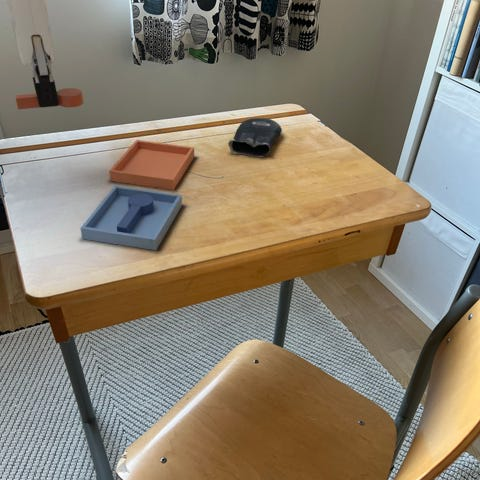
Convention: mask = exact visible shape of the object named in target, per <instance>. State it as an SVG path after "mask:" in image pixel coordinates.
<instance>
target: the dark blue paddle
mask: <svg viewBox="0 0 480 480" xmlns="http://www.w3.org/2000/svg"><path fill="white" fill-rule="evenodd" d="M128 207H129V210H128V211H127V213H126V214H125V215H124V217H123V218H122V220H121V221H120V222H119V224H118V225H117V232H123V233H129V234H130V233H131V231H132V230H133V228H134V227H135V225H136V224H137V222H138V221H139V219H140V218H141V216H143V215H148V214H150V213H152V212H153V210H154V205H153V198H152V197H151V196H150V195H147V194H136V195H132V196H131V197H129V199H128Z"/></svg>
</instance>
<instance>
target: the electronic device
mask: <svg viewBox="0 0 480 480" xmlns="http://www.w3.org/2000/svg"><path fill="white" fill-rule="evenodd" d="M282 131H283V129H282V127H281V125H280V124H279V123H278V122H277V121H275V120H274V119H270V118H266V117H260V118H259V117H254V118H248V119H245V120H244V121H242V122H241V123H240V124H239V126H238V127H237V129H236V131H235V133H234V135H233V138H232V139H230V140H229V141H228V142H227V145H228V147H229V150H230V153H231V154H233V155H234V154H235V155H237V154H238V155H246V156H250V157H256V158H264V157H266V156H267V155H268V154H269V153H270V152H271V149H272V147H273V146H274V143H275V141H276V140H277V139H278V138H279V137H280V136H281V134H282Z"/></svg>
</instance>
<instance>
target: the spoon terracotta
mask: <svg viewBox="0 0 480 480" xmlns="http://www.w3.org/2000/svg"><path fill="white" fill-rule="evenodd" d="M56 91H57V96H58V102H59V105H58V106H57V107H63V108H77V107H81V106H82V105H84V96H83V91H82V90H81V89H79V88H74V87H66V88H62V89H58V90H56ZM14 98H15V101H16V106H17V109H18V110H26V109H38V108H41V107H40V106H39V103H38V98H37V94H36V93H26V94H15V95H14Z"/></svg>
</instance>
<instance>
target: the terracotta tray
mask: <svg viewBox="0 0 480 480" xmlns="http://www.w3.org/2000/svg"><path fill="white" fill-rule="evenodd" d="M194 158H195V147H193V146H186V145H178V144H172V143H163V142H155V141H148V140H140V139H136V140H135V141H134V142H133V143H132V144H131V145H130V146H129V148H127V150H126V151H125V152H124V153H123V154H122V155H121V156H120V157H119V159H118V160H117V161H116V163H115V164H114V165H113V166H112V167H111V169H109V171H108V172H109V178H110V181H111V182H117V183H122V184H130V185H137V186H144V187H150V188H157V189H158V188H159V189H165V190H172V191H174V190H175V189H176V187H177V185H178V184H179V182H180V181H181V179H182V178H183V176H184V174H185V172H186V171H187V169H188V168H189V166H190V164H191V163H192V162H193V160H194Z"/></svg>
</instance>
